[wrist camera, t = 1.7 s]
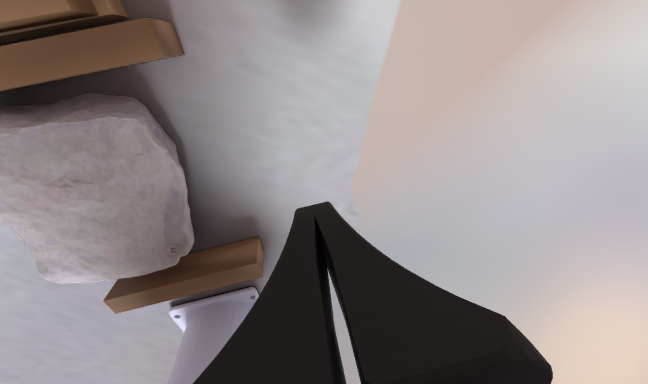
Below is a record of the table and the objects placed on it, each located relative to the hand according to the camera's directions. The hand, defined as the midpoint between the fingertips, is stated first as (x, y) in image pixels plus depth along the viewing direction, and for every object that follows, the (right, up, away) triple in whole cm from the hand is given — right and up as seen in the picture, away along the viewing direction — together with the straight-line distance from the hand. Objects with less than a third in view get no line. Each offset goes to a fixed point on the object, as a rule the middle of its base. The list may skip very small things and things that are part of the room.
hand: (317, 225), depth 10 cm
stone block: (-14, +2, +8) cm, 16 cm away
